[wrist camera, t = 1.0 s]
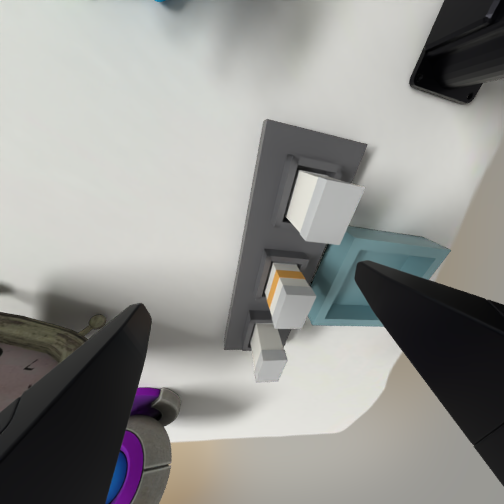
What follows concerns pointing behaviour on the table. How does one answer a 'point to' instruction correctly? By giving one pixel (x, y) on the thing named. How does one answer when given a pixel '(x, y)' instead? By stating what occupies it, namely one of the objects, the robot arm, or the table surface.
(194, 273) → the table surface
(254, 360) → the block
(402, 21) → the table surface
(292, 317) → the marked fuse
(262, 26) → the table surface
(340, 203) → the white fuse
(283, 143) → the fuse holder
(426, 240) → the tray
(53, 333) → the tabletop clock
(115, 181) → the table surface
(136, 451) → the webcam
